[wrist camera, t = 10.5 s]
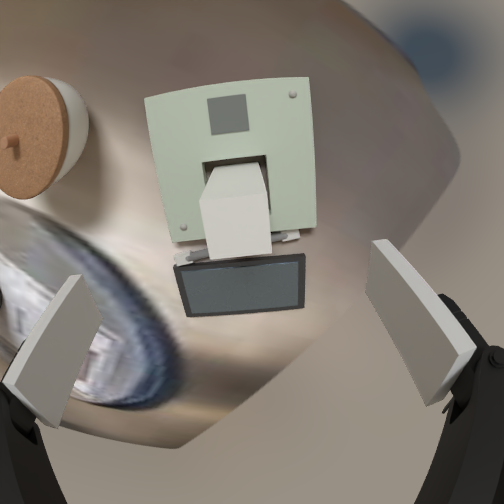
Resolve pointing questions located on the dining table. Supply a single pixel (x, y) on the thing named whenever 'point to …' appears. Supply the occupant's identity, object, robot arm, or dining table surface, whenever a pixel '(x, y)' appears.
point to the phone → (242, 285)
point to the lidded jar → (39, 134)
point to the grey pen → (192, 256)
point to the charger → (236, 212)
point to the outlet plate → (234, 147)
